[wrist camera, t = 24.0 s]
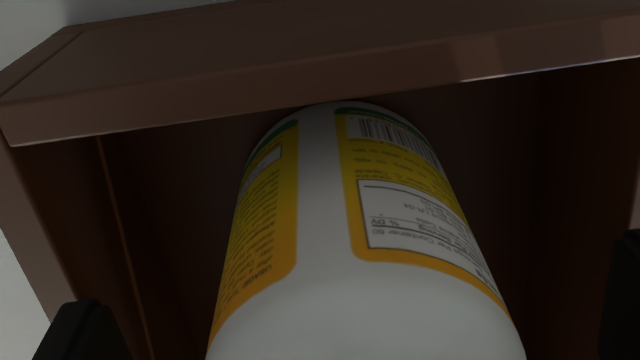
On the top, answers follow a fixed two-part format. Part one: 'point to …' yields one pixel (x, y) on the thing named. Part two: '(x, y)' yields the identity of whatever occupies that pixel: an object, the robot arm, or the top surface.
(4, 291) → the top surface
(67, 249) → the brown box
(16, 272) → the top surface
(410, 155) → the supplement bottle
